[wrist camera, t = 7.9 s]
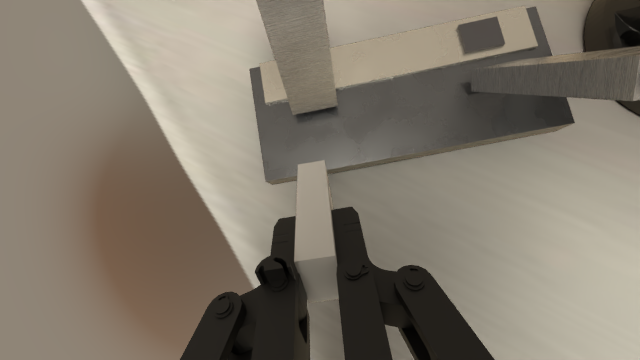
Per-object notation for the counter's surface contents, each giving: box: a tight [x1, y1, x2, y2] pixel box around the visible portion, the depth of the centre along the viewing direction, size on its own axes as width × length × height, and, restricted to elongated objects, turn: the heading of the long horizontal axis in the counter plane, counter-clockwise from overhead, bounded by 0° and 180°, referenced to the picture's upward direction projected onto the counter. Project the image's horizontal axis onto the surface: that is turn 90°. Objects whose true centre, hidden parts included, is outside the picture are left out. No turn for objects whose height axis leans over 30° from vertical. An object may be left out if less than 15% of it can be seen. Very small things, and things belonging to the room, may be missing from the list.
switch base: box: [250, 6, 575, 185], centre depth 23 cm, size 10×24×3 cm, turn 100°
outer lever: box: [256, 0, 338, 115], centre depth 17 cm, size 3×4×13 cm
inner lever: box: [471, 46, 640, 101], centre depth 15 cm, size 3×4×13 cm
